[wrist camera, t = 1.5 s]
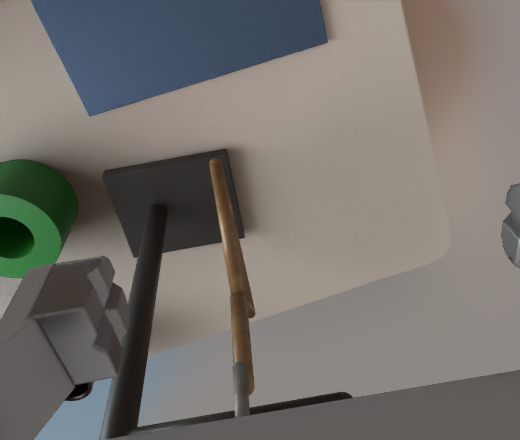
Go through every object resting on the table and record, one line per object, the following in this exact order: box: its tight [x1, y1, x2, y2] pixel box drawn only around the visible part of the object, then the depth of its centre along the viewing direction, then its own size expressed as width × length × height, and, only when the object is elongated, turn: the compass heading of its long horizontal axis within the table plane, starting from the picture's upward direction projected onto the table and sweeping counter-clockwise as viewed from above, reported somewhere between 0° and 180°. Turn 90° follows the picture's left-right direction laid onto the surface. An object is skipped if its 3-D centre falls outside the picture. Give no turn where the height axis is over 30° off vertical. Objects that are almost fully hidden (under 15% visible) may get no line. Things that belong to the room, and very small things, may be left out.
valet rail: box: [99, 149, 353, 440], centre depth 37 cm, size 18×10×27 cm, turn 99°
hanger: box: [209, 158, 255, 418], centre depth 33 cm, size 1×17×19 cm, turn 9°
